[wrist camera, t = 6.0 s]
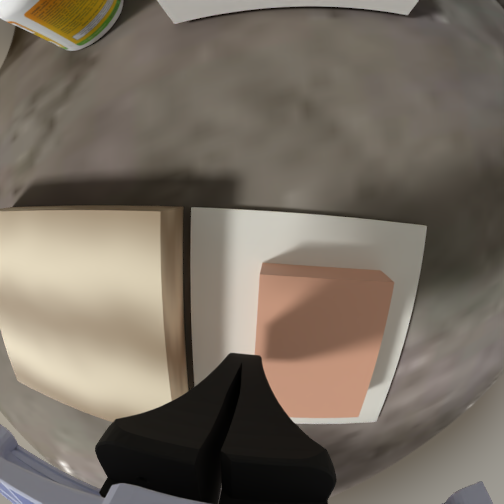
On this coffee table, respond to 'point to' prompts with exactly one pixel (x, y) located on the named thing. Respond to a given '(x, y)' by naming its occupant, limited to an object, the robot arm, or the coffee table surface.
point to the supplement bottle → (63, 19)
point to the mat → (294, 253)
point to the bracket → (271, 6)
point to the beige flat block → (95, 304)
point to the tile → (320, 335)
